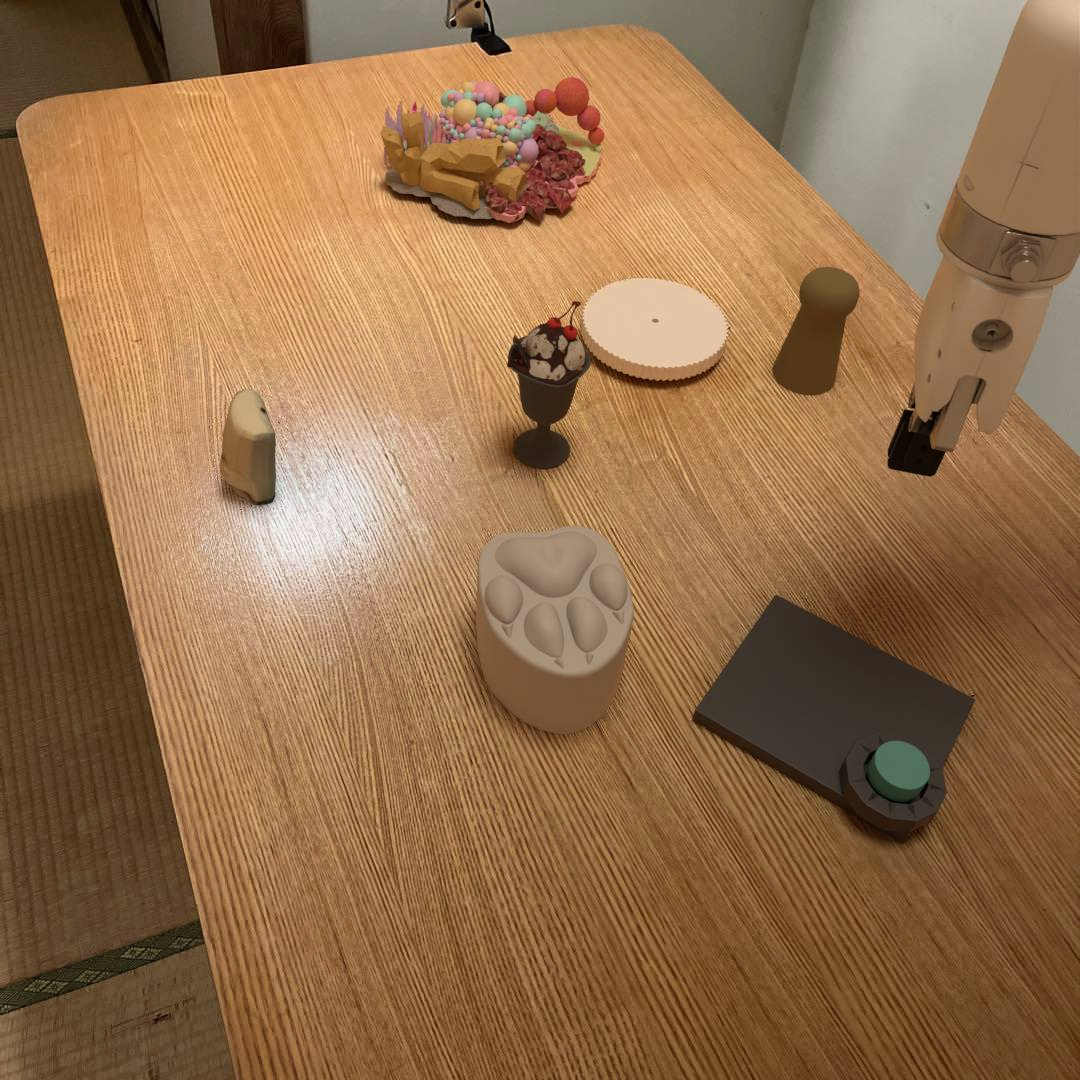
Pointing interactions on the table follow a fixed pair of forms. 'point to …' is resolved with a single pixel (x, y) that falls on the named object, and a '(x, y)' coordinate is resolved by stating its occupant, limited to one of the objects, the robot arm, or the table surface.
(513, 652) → the lumpy-topped squat cylinder
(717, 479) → the table surface
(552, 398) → the sundae
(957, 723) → the scale
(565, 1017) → the table surface
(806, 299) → the brown game pawn
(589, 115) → the candy landscape model
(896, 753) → the scale button
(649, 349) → the plastic lid
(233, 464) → the tan tall rounded block
